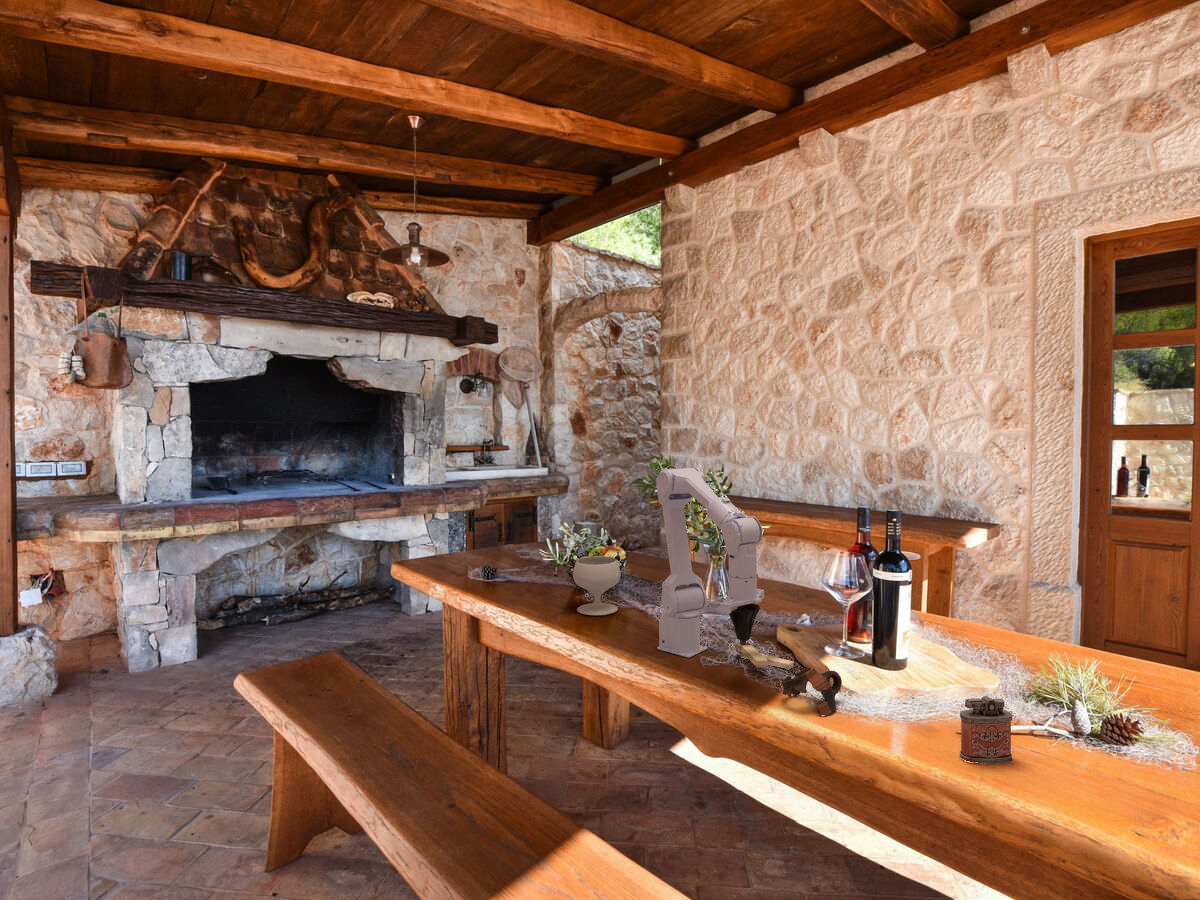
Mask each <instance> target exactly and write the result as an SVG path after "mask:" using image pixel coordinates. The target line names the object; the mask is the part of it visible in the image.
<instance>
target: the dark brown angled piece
mask: <svg viewBox="0 0 1200 900" xmlns="http://www.w3.org/2000/svg"><path fill="white" fill-rule="evenodd" d="M831 679H832V680H833V682H832V686H831V684H830V680H831ZM780 682H781V683H780V684H781V685H782V687H783V688H782V689H783V690H782V694H783V695H784V696H788V698H790V699H791V698H792V696H794V697H795V696H797V695H798V696H799V695H800V694H807V693H808V690H807V685H808V682H809V683H810V684H811V686H812V689H813V690H815V691H816V692H820V694H821V696H822V697H823V700H824V701H823V702H821V703H820V704H817V710H818V711H819V713H820V716H821V715H826V716H828V715H830V714H831V713H833V712H835V711H836V710H837V704H836V695H837V694H839V692H840V690H841V688H842V686H843V685H842V684H843V683H842V677H841V675H840V674H839V673H838V671H836V670H827V671H824V672H823V673H820V672H818V671H817V670H816V667H814V666H810V667H806V668H804V669H801V670H799V671H797V672H795V673H794V677H793V678H792V676H791V675H788V676H787V677H786V678H784V679H783V680H782V681H780ZM798 696H797V697H798Z"/></svg>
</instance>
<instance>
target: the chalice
mask: <svg viewBox="0 0 1200 900" xmlns="http://www.w3.org/2000/svg"><path fill="white" fill-rule="evenodd" d="M572 570H573V571H572V579H573V580H574V582H575V584H576V585H577V586H579V587H580V588H582V589H583V590H586V591H588V592H589V593H590V594H591V595H592V596H593V601H592V603H586V604H585V603H584V604H582V605H580V606H579V607H577V608H576V611H577V612H578V613H579V614H583V615H585V616H587V615H588V616H607V615H610V614H614V613H616V612H617V611H619V608H618V606H616V605H614V604H612V603H608V602H607V603H605V602H601V597H602V595H603V593H605V592H606V591H608V590H609V589H611V588H613V587H614V586H615V585H617V584H618V582H619V581H620V579H621V567H620V565H619V562H618V560H617V559H616V558H615V557H613V556H612V557H611V556H603V555H595V556H592V555H590V556H584V557H581V558H580V557H579V558H578V559H577V560H576V561H575V564H574V567H573V569H572Z"/></svg>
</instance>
